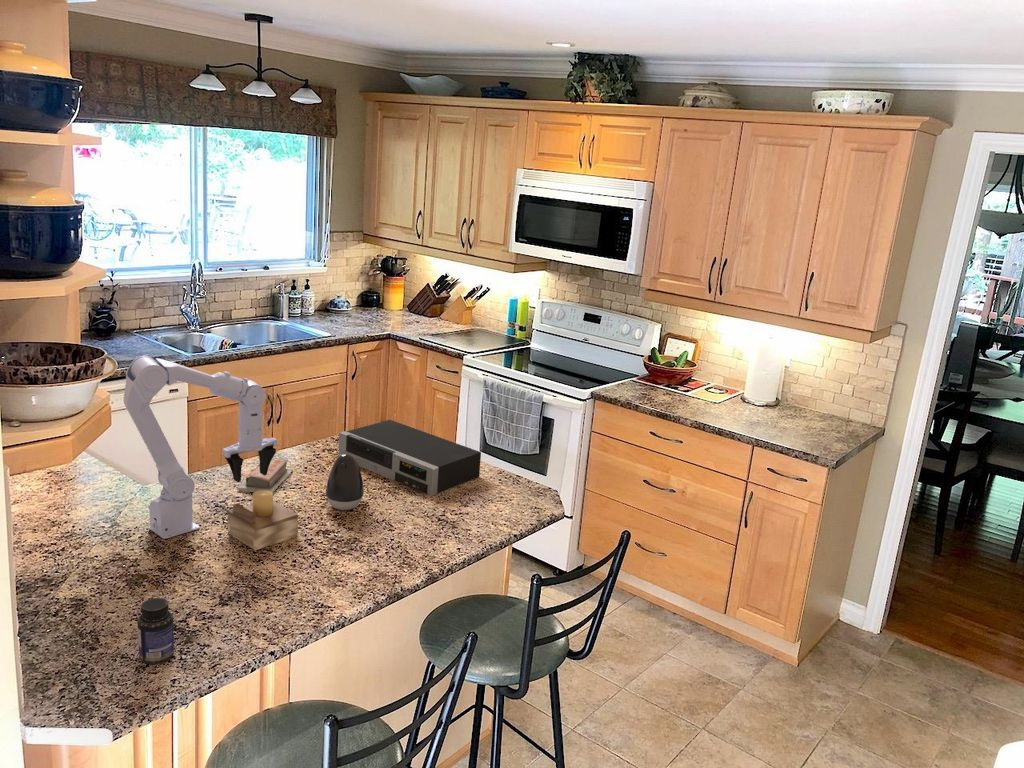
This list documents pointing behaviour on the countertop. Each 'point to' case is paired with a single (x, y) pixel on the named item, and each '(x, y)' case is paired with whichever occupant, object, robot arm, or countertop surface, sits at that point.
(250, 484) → the packaged product
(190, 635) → the countertop surface
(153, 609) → the pill bottle
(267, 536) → the wooden box
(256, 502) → the cream bullet-shaped knob
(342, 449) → the vcr player
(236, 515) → the lid
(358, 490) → the black egg-shaped device
